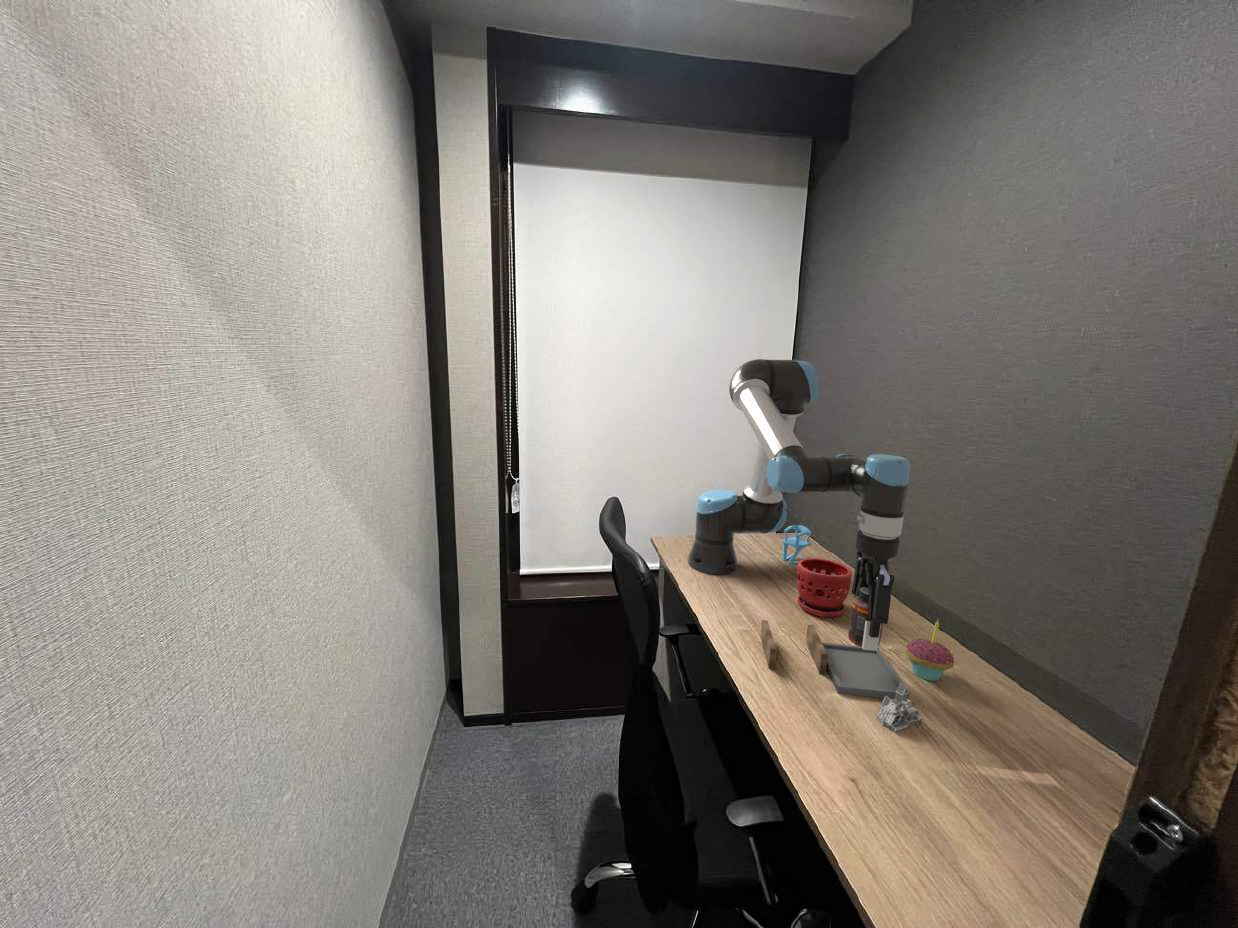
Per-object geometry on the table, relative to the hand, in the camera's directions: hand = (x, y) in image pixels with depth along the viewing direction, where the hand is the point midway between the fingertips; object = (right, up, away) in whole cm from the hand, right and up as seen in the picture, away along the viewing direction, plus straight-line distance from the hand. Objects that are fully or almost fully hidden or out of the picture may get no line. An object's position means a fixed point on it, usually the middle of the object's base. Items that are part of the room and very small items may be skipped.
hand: (863, 640), depth 103 cm
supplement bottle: (0, -1, 0) cm, 1 cm away
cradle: (-13, -6, +7) cm, 16 cm away
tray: (0, -7, +2) cm, 7 cm away
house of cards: (0, -10, -10) cm, 14 cm away
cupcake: (+14, -8, +2) cm, 16 cm away
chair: (+7, +4, +60) cm, 61 cm away
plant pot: (+3, -2, +29) cm, 29 cm away
